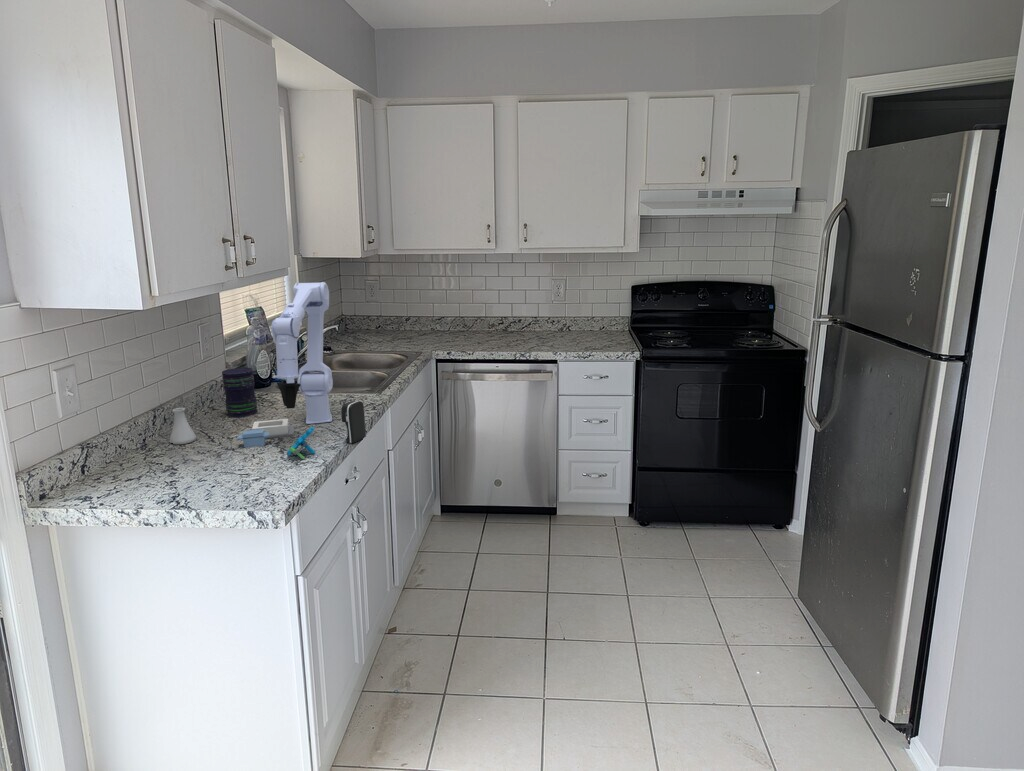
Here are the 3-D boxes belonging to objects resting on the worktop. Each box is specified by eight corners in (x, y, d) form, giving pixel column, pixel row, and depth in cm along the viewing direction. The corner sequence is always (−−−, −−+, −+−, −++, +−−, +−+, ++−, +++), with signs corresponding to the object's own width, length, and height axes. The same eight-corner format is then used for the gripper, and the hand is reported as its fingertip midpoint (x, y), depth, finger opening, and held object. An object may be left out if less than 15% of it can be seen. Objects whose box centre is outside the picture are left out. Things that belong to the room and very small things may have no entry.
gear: (297, 441, 198) (315, 419, 194) (312, 455, 199) (332, 434, 195) (276, 459, 188) (296, 437, 184) (293, 474, 189) (313, 452, 185)
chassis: (250, 431, 216) (249, 421, 215) (294, 426, 219) (293, 417, 218) (247, 440, 206) (246, 430, 206) (293, 435, 210) (292, 425, 209)
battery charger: (356, 436, 207) (352, 398, 205) (366, 437, 206) (363, 399, 203) (341, 443, 201) (338, 404, 199) (352, 444, 200) (349, 405, 197)
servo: (240, 444, 203) (238, 431, 202) (270, 441, 205) (269, 428, 204) (238, 448, 200) (237, 435, 199) (269, 445, 202) (268, 432, 201)
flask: (202, 438, 210) (197, 406, 208) (184, 446, 203) (180, 412, 201) (181, 437, 212) (177, 405, 210) (164, 444, 205) (159, 411, 203)
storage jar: (220, 417, 233) (214, 373, 230) (238, 409, 242) (233, 367, 239) (246, 418, 231) (241, 374, 227) (264, 410, 240) (259, 367, 236)
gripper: (270, 359, 205) (272, 405, 206) (274, 360, 191) (276, 410, 192) (295, 358, 207) (297, 404, 208) (301, 360, 194) (303, 408, 195)
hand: (289, 407), depth 200 cm, fingers open, 7 cm apart
